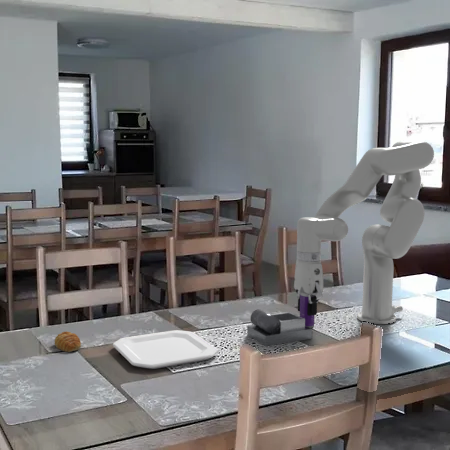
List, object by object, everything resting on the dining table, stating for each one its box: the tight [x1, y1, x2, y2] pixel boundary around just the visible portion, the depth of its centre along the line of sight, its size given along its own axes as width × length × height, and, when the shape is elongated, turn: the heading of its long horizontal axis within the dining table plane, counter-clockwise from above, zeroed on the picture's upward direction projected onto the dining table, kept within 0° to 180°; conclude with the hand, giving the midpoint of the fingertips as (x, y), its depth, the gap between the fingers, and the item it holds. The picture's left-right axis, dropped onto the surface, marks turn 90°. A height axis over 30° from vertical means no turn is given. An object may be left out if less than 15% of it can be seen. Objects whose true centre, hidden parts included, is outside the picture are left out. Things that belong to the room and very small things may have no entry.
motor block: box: [246, 309, 313, 347], centre depth 184 cm, size 16×11×8 cm
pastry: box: [54, 331, 82, 353], centre depth 174 cm, size 9×7×4 cm
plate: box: [112, 329, 219, 370], centre depth 171 cm, size 25×25×2 cm
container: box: [299, 287, 315, 329], centre depth 196 cm, size 5×5×15 cm
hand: (307, 312), depth 196 cm, fingers closed on container, 4 cm apart
